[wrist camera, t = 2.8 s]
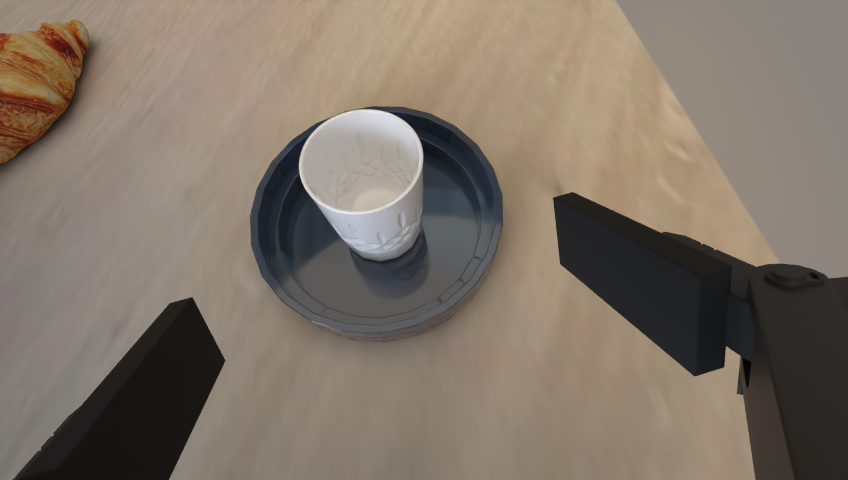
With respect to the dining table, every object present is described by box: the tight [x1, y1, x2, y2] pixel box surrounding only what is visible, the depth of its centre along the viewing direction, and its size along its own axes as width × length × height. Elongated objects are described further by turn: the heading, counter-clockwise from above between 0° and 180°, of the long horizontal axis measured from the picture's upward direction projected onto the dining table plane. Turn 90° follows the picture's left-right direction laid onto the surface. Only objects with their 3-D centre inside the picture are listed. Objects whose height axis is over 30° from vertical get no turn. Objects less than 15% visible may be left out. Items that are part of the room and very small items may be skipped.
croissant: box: [0, 20, 90, 164], centre depth 39 cm, size 21×10×8 cm, turn 164°
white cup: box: [299, 109, 423, 261], centre depth 30 cm, size 8×8×10 cm
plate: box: [250, 106, 503, 342], centre depth 33 cm, size 20×20×4 cm
